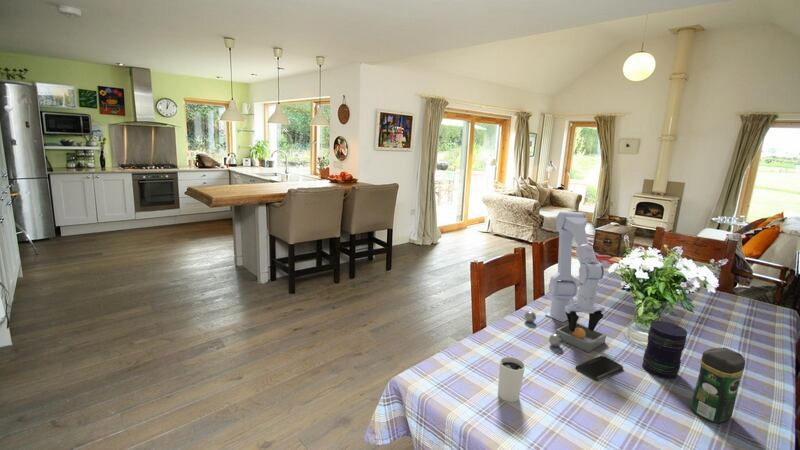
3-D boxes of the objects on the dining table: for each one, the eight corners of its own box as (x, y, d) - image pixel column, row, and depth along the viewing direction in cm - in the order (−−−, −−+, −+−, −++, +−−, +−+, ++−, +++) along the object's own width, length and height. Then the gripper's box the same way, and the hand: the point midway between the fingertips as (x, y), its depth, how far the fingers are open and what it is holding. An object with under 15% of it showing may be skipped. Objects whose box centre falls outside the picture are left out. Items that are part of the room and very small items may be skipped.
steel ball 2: (552, 341, 141) (554, 330, 140) (563, 346, 137) (565, 335, 136) (545, 345, 138) (547, 333, 137) (557, 350, 135) (559, 339, 134)
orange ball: (577, 334, 146) (575, 324, 145) (588, 337, 142) (586, 327, 141) (571, 340, 143) (569, 330, 142) (583, 343, 140) (581, 333, 139)
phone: (624, 367, 125) (596, 379, 118) (624, 370, 126) (596, 382, 118) (601, 355, 132) (573, 366, 124) (601, 358, 132) (573, 369, 125)
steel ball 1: (527, 318, 158) (529, 308, 157) (537, 322, 155) (538, 312, 154) (521, 321, 156) (522, 311, 155) (531, 325, 152) (532, 315, 151)
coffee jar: (703, 400, 112) (718, 341, 108) (736, 418, 105) (753, 356, 101) (683, 408, 108) (698, 347, 104) (715, 427, 101) (733, 363, 97)
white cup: (502, 384, 114) (506, 354, 112) (524, 394, 110) (528, 363, 108) (492, 395, 109) (495, 363, 107) (514, 406, 105) (519, 373, 103)
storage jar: (660, 381, 120) (670, 337, 117) (634, 363, 129) (642, 322, 126) (685, 377, 123) (695, 334, 120) (657, 360, 132) (666, 319, 129)
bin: (571, 328, 152) (572, 321, 151) (604, 342, 142) (606, 334, 141) (554, 337, 144) (555, 329, 143) (588, 353, 134) (589, 344, 134)
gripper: (575, 300, 134) (569, 336, 137) (613, 299, 136) (606, 335, 139) (563, 292, 141) (558, 326, 144) (599, 291, 143) (593, 325, 146)
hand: (581, 330), depth 142 cm, fingers open, 7 cm apart
